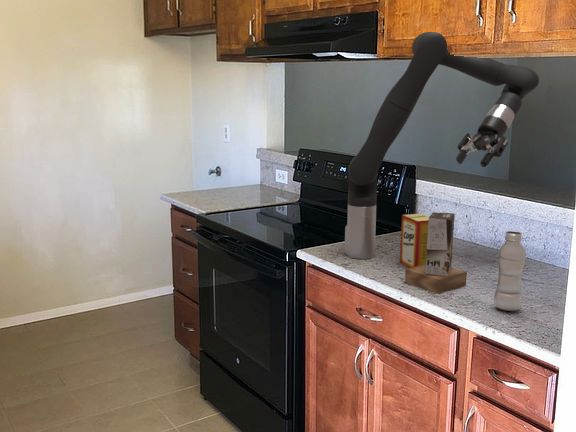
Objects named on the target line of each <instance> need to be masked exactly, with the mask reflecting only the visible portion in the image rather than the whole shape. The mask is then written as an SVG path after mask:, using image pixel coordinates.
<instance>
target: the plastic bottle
mask: <svg viewBox="0 0 576 432" xmlns="http://www.w3.org/2000/svg"><path fill="white" fill-rule="evenodd" d="M522 240H523V238H522V232H520V231H516V230H515V231H514V230H513V231H512V230H507V231H506V232H505V237H504V241H505V242H504V243H503V244H502V245H501V246H500V248H499V249H498V251H497V252H498V253H497V255H498V279H497V285H496V289H495V291H494V295H493V302H494V303H493V304H494V305H495V307H496V308H497V309H499V310H502V311H507V312H508V311H509V312H516V311H517V310H519V309H520V308H521V307H522V306H521V305H522V303H523V300H522V298H523V296H522V275H523V270H524V267H525V262H526V258H527V252H526V249H525V248H524V246H523V245H522V243H521V242H522Z"/></svg>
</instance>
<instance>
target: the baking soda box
mask: <svg viewBox="0 0 576 432" xmlns="http://www.w3.org/2000/svg"><path fill="white" fill-rule="evenodd" d="M429 217H430V216H428V215H427V214H425V213H411V214H410V213H409V214H402V215H401V227H400V229H401V230H400V231H401V232H400V249H399V251H400V254H399V264H401V265H403V266H405V267H406V268H407V269H408V268H412V267H416V266H420V265H424V264H426V253H427V236H428V220H429Z"/></svg>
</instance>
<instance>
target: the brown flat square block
mask: <svg viewBox="0 0 576 432" xmlns="http://www.w3.org/2000/svg"><path fill="white" fill-rule="evenodd" d="M425 270H426V264H424V265H420V266H416V267H412V268H408V267H407V268H405V271H404V272H405V275H404V276H405V277H404V278H405V279H404V283H405V284H409V285H411V286H414V287H417V288H419V289H422V290H425V291H428V292H431V293H434V294H437V295H440V294H443V293H447V292H449V291H452V290H455V289H459V288H463V287H465V286H467V278H468V276H467V275H468V274H467V273H468V272H467V271H465V270H461V269H458V268H455V267H452V266H451V270H450V272H449V274H448V276H439V275H431V274H425Z"/></svg>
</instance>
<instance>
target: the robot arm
mask: <svg viewBox="0 0 576 432" xmlns="http://www.w3.org/2000/svg"><path fill="white" fill-rule="evenodd" d="M447 43H448V42H447V40H446V38H445V36H444V35H443V34H441V33H440V32H435V31H426V32H425V31H424V32H422V33H420V34H419V35H417V36H416V37H415V39H414V40H413V42H412V46H411V47H412V48H411V49H412V50H411V51H412V54H413V56H412V58H411V61H410V62H409V64H408V66H407V68H406V70H405V72H404V73H403V74H402V76H401V77H400V78H399V79H398V81H397V82H396V83H395V84H394V85H393V87H392V88H390V91H389V92H388V93H387V95H386V96H385V99H384V100H383V102H382V103H381V106H380V107H379V110H378V112H377V114H376V115H375V118H374V120H373V123H372V125H371V128H370V131H369V133H368V136H367V138H366V141H364V144H363V145H362V147H361V148H360V150H359V151H358V152H357V154H356V156H354V157H353V158H352V159H351V161H350V163H349V166H348V169H347V170H348V172H347V173H348V189H347V190H348V192H347V224H346V225H345V228H344V254H345V255H346V256H347V257H349V258H350V259H351V258H352V259H356V260H358V259H359V260H366V259H367V260H368V259H373V258H374V257H375V256H376V255H375V252H376V251H375V250H376V229H377V228H376V227H377V226H376V223H377V199H378V198H377V197H378V195H377V194H378V173H379V170H380V168H381V165H382V162H383V161H384V158H385V156H386V155H387V152H388V150H389V149H390V147H391V146H392V145H393V143H394V141H395V140H396V139H397V138H398V136H399V134H400V133H401V131H402V130H403V128H404V126H405V125H406V123H407V121H408V119H409V118H410V116H411V114H412V112H413V111H414V108H415V107H416V104H417V102H418V100H419V98H420V97H421V95H422V93H423V91H424V89H425V86H426V84H427V83H428V81H429V79H430V78H431V76H432V75H433V73H434V72H435V71H436V69H438V68H437V67H438V66H443V67H447V68H451V69H453V70H456V71H458V72H461V73H463V74H465V75H467V76H470V77H471V78H474V79H476V80H479V81H481V82H483V83H487V84H489V85H491V86H495V87H498V86H503V85H504V87H503V89H502V91H501V93H500V96H499V98H498V99H497V101H496V102H495V104H494V105H493V106H492V108H490V110H489V111H488V112H487V114H486V115H485V117H484V118H483V120H482V122H481V123H480V125H479V126H478V129H477V132H476V133H475V134H474V135H471V134H470V133H465V135H464V136H463V138H462V139H461V141H460V142H459V143H458V145H457V146H456V147H457V149H458V151H459V153H457V156H456V159H455V160H456V162H457V163H458V164H459V165H461V164H462V163H463V162H464V160H465V159H466V158H467V156H468V154H470V153H474V152H476V151H485V152H486V151H487V153H484V156H483V157H482V158H481V160H480V166H481V167H483V168H485V167H488V165H489V163H490V162H491V161H492V159H493V158H500V157H501V156H502V155H503V153H504V151H505V149H506V148H507V146H508V144H509V142H508V139H507V138H506V136H505V134H506V133H507V131H508V129H509V128H510V126H511V125H512V123H513V121H514V118H515V117H516V115H517V114H518V113H519V111H520V109H521V107H522V104H523V102H522V100H523V99H524V97H526V95H528V94H529V93H531V92H532V91H534V90H535V89H536V88H537V87H538V86H539V84H540V79H539V75H538V73H537V72H536V71H535V70H533V69H532V68H529V67H526V66H522V65H515V64H507V63H506V64H505V63H504V62H501V61H498V60H496V59H493V58H491V57H488V58H477V57H464V56H454V55H450V53H449V52H448V50H447ZM472 145H473V146H472ZM494 147H495V148H494Z"/></svg>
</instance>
